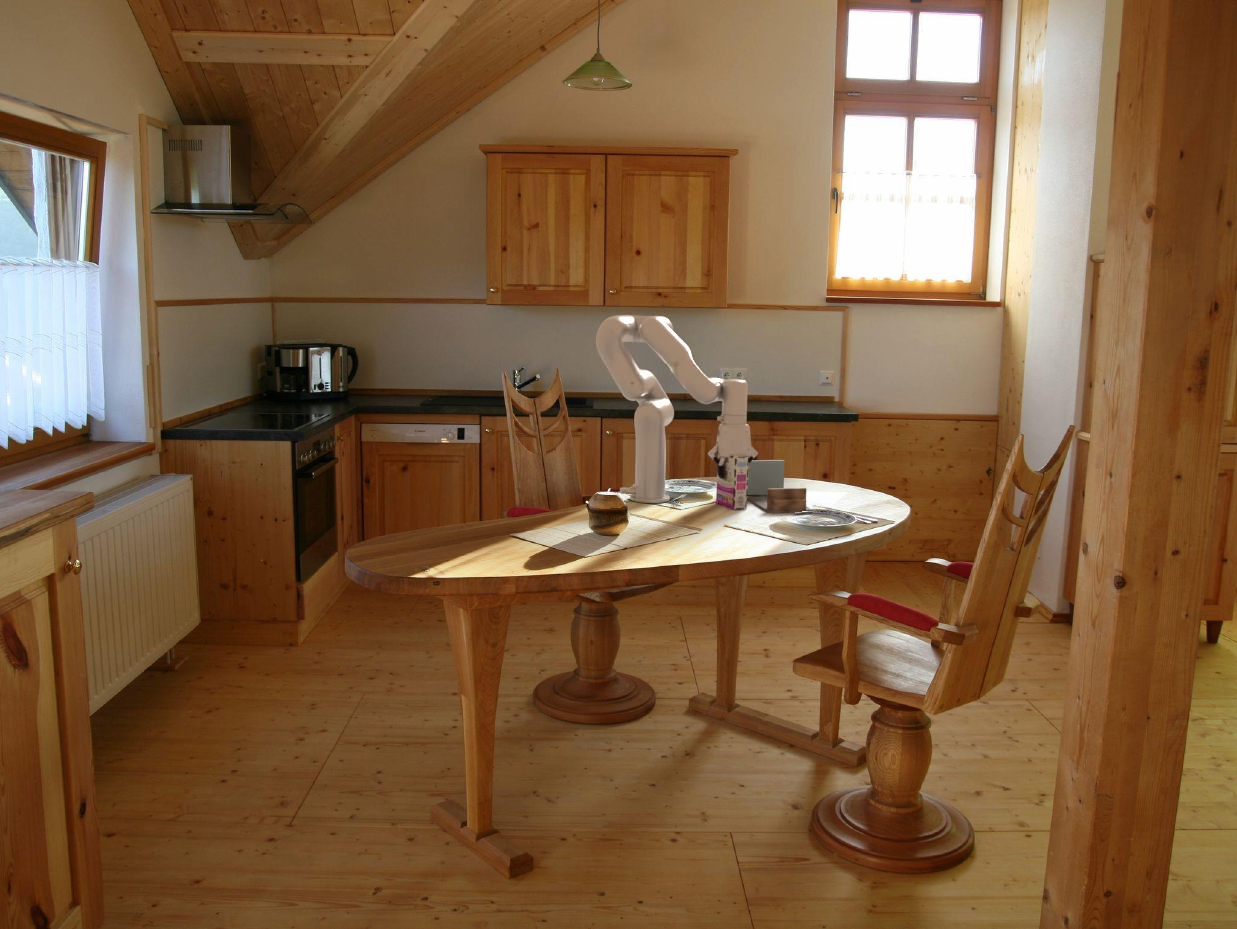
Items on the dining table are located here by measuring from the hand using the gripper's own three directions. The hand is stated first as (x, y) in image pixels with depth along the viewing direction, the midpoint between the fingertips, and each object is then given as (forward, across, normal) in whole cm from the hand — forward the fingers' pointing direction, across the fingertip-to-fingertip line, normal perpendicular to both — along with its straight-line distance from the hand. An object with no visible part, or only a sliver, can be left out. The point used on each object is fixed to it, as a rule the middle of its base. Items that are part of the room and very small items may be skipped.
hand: (732, 477), depth 330 cm
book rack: (+9, +15, 0) cm, 18 cm away
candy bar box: (+9, 0, 0) cm, 9 cm away
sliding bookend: (+8, +15, +17) cm, 24 cm away
